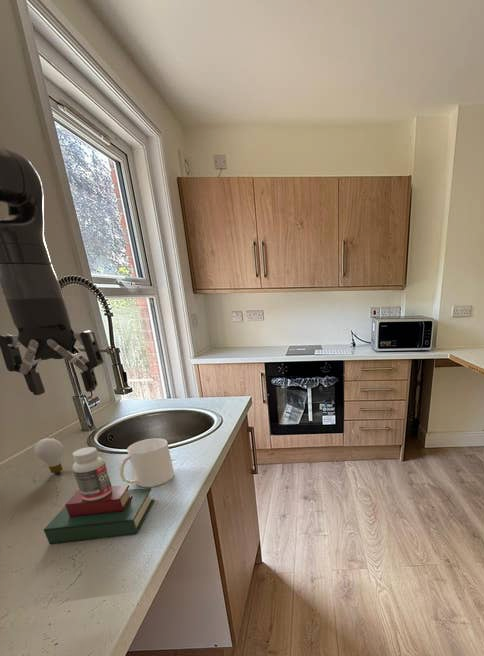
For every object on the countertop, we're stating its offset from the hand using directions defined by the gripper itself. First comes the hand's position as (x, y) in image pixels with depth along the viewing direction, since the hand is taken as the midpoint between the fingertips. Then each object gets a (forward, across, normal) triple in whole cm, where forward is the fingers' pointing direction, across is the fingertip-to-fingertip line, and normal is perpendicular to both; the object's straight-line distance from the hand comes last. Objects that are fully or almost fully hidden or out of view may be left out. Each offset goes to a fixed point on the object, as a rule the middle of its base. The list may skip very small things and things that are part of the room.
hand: (65, 392), depth 63 cm
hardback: (+28, 0, 0) cm, 28 cm away
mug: (+28, -4, -16) cm, 33 cm away
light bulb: (+28, +22, -25) cm, 44 cm away
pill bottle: (+22, 0, 0) cm, 22 cm away
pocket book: (+25, 0, 0) cm, 25 cm away
